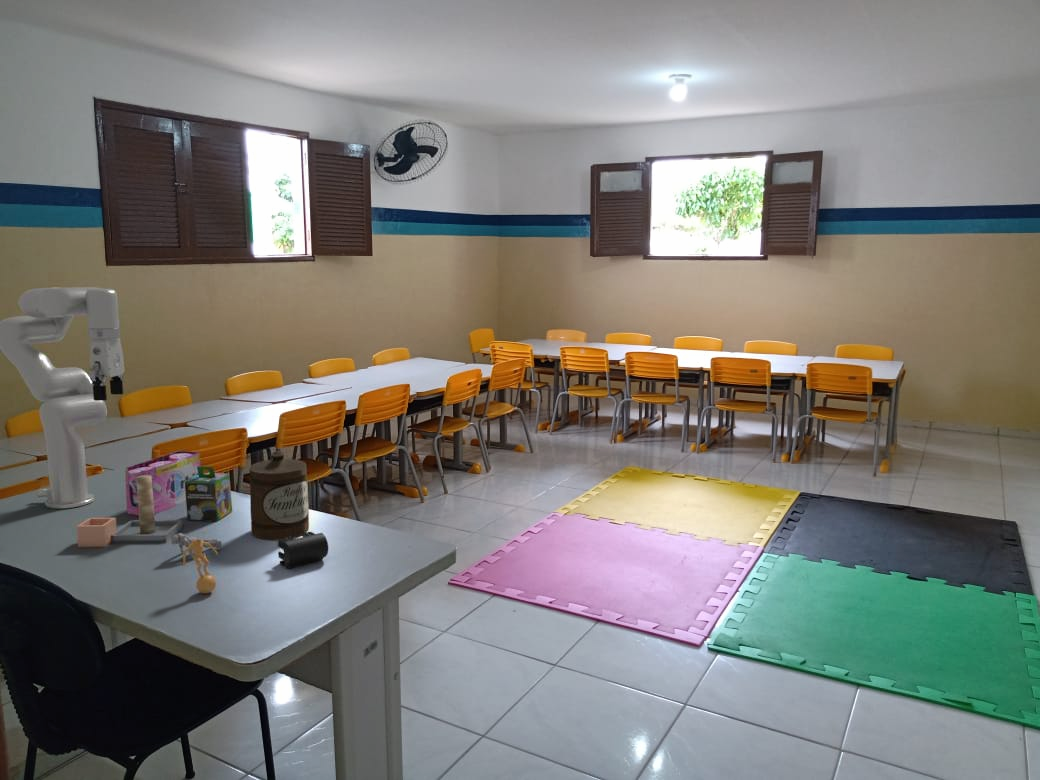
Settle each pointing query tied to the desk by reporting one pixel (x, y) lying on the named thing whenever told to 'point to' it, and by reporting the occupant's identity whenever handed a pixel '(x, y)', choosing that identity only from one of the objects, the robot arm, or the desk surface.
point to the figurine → (205, 581)
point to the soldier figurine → (187, 541)
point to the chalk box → (208, 495)
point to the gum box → (162, 479)
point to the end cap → (302, 549)
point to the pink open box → (96, 532)
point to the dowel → (145, 504)
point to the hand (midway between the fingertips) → (108, 397)
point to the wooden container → (279, 498)
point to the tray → (161, 534)
